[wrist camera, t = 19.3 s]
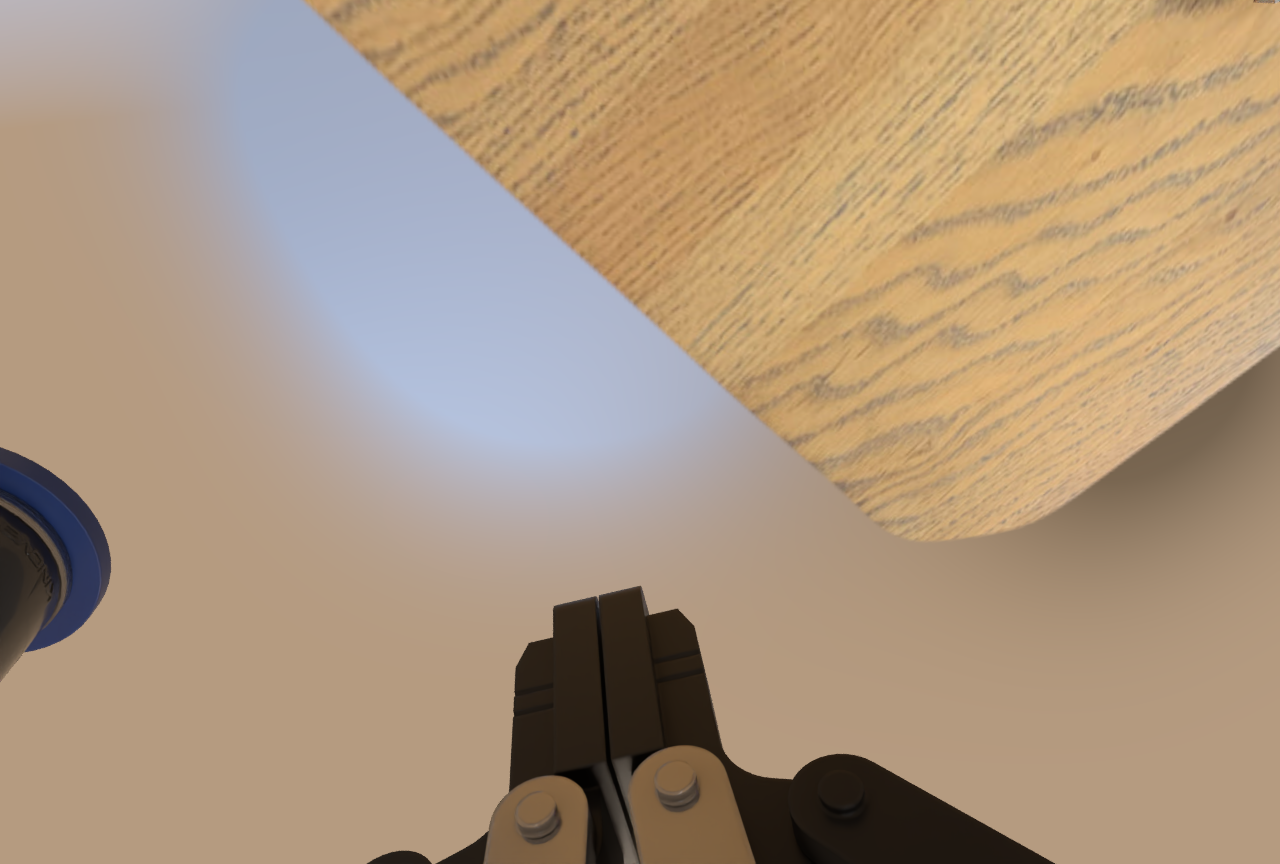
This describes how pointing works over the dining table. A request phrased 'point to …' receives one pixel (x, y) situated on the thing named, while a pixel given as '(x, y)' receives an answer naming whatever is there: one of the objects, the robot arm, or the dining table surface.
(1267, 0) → the candy apple
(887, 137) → the dining table surface
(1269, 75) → the dining table surface
